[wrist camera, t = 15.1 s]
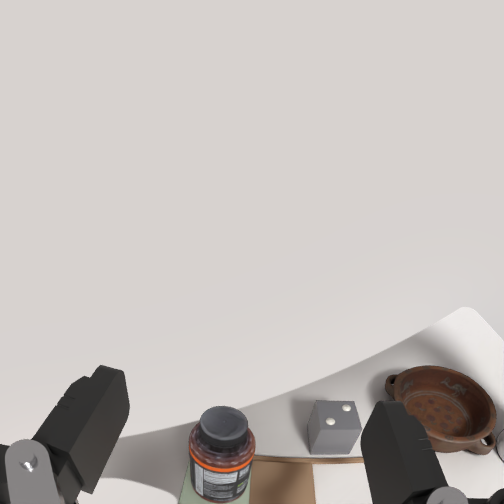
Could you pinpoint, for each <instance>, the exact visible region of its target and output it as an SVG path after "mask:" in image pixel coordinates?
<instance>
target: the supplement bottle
mask: <svg viewBox="0 0 504 504" xmlns="http://www.w3.org/2000/svg"><path fill="white" fill-rule="evenodd" d="M254 452H255V438H254V435H253V433H252V432H251V430H250V429H249V428H248V421H247V419H246V417H245V415H244V414H243V413H241V412H240V411H239V410H237V409H235V408H231V407H226V406H216V407H213V408H210V409H208V410H206V411H205V412H204V413H203V415H202V416H201V418H200V422H199V423H198V424H197V425H196V426H195V427H194V428H193V430H192V431H191V434H190V437H189V456H190V477H191V484H192V487H193V489H194V491H195V492H196V493H197V494H198V495H199V496H200V497H201V498H203V499H204V500H206V501H209V502H213V503H218V504H223V503H229V502H232V501H234V500H236V499H238V498H239V497H241V495H242V494H243V493H244V492H245V489H246V487H247V484H248V480H249V475H250V470H251V466H252V462H253V457H254Z"/></svg>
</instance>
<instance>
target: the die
mask: <svg viewBox="0 0 504 504" xmlns="http://www.w3.org/2000/svg"><path fill="white" fill-rule="evenodd" d="M307 428H308V437H309V446H310V454H349V453H350V451H351V450H352V448H353V446H354V444H355V442H356V440H357V438H358V436H359V434H360V433H361V431H362V427H361V423H360V420H359V416H358V413H357V409H356V406H355V403H354V401H322V400H316V402H315V405H314V408H313V411H312V414H311V417H310V420H309V423H308V425H307Z"/></svg>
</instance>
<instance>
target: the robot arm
mask: <svg viewBox="0 0 504 504" xmlns="http://www.w3.org/2000/svg"><path fill="white" fill-rule="evenodd" d="M129 409H130V404H129V398H128V392H127V387H126V381H125V375H124V372H123V371H122V370H118V369H114V368H110V367H107V366H103V365H100V366H99V367H98V368H97V369H96V370H95V372H94V373H93V375H92V376H91V377H90V378H89V377H86V376H83V377H82V378H80V379H78V380H77V381H75V382H74V383H72V384H71V385H70V387H69V388H68V389H67V391H66V392H65V394H64V396H63V397H62V398H61V399H60V400H59V402H58V403H57V406H55V407H54V409H53V410H52V411H51V413H50V414H49V416H48V417H47V418H46V420H45V421H44V423H43V424H42V425H41V427H40V428H39V430H38V431H37V433H36V434H35V435H34V437H33V438H32V439H31V440H29V439H24V440H19V441H17V442H15V443H13V444H12V445H11V446H7V445H2V444H0V504H79V503H78V500H77V497H78V494H79V492H80V490H82V491H84V492H87V493H90V494H92V493H93V491H94V489H95V487H96V485H97V482H98V480H99V478H100V476H101V474H102V472H103V469H104V467H105V465H106V463H107V461H108V459H109V457H110V455H111V452H112V450H113V448H114V446H115V444H116V442H117V440H118V438H119V436H120V433H121V431H122V429H123V427H124V425H125V423H126V421H127V418H128V415H129ZM428 438H429V437H428V435H427V433H426V430H425V428H424V426H423V424H422V423H421V422H420V421H419V420H418V419H417V418H416V417H415V416H414V415H408V413H407V411H406V409H405V406H404V404H403V403H402V402H401V401H379V402H377V404H376V405H375V407H374V409H373V412H372V414H371V416H370V418H369V420H368V422H367V424H366V426H365V428H364V430H363V432H362V435H361V451H362V455H363V460H364V464H365V469H366V473H367V478H368V483H369V487H370V492H371V497H372V502H373V504H504V488H503V489H500V490H498V491H497V492H495V493H494V494H493V495H492V496H491V497H490V498H489V499H476V498H466V496H465V495H464V493H462V492H461V491H460V490H458V489H456V488H453V487H449V486H448V484H447V481H446V479H445V476H444V474H443V471H442V469H441V466H440V464H439V461H438V459H437V456H436V454H435V451H434V450H433V449H432V444H431V442H430V440H428ZM496 447H497V451H498V453H499V455H500V457H501V458H502V460H503V461H504V429H503V431H502V432H501V433H500V435H499V436H498V438H497V442H496Z"/></svg>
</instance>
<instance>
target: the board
mask: <svg viewBox="0 0 504 504" xmlns="http://www.w3.org/2000/svg"><path fill="white" fill-rule="evenodd" d="M363 462H364V460H363V457H361V458H334V459H309V458H282V457H266V456H254V457H253V462H252V466H251V470H250V475H249V480H248V484H247V487H246V489H245V492H244V493H243V494H242V495H241V497H239V498H238V499H236V500H234V501H232V502H229V503H223V504H316V500H315V489H314V479H313V468H312V464H343V463H363ZM179 504H218V503H213V502H209V501H206V500H204V499H203V498H201V497H200V496H199V495H198V494H197V493H196V492H195V491H194V489H193V487H192V484H191V477H190V459H189V463H188V467H187V472H186V476H185V480H184V484H183V488H182V492H181V497H180V501H179Z"/></svg>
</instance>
